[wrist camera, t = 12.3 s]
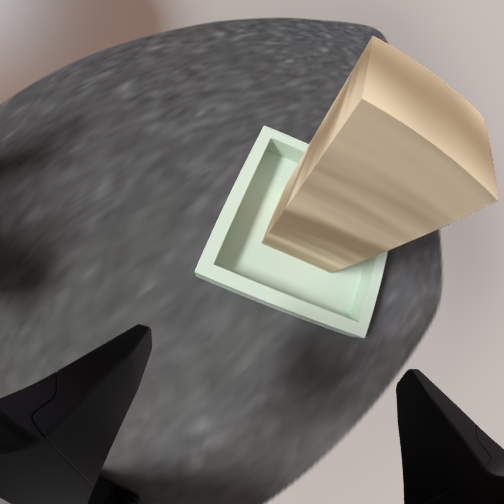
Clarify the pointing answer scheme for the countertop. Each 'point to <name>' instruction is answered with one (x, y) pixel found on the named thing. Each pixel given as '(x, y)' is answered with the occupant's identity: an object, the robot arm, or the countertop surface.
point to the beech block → (384, 166)
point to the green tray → (276, 262)
